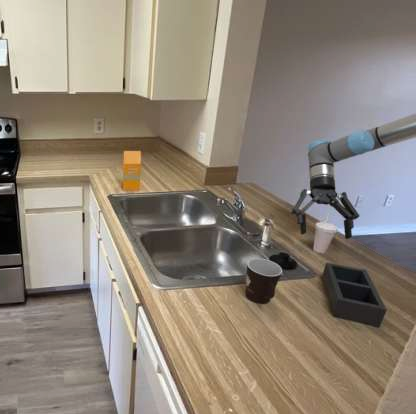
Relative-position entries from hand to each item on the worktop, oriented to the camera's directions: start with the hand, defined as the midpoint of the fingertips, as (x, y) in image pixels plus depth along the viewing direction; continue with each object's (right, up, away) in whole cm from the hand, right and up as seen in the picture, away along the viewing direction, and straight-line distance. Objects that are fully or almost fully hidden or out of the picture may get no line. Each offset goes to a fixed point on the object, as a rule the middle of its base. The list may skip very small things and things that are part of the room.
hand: (325, 235), depth 113 cm
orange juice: (-60, +20, +64) cm, 90 cm away
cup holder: (-8, -16, -21) cm, 28 cm away
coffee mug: (-33, -16, -20) cm, 42 cm away
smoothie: (0, -6, +4) cm, 7 cm away
